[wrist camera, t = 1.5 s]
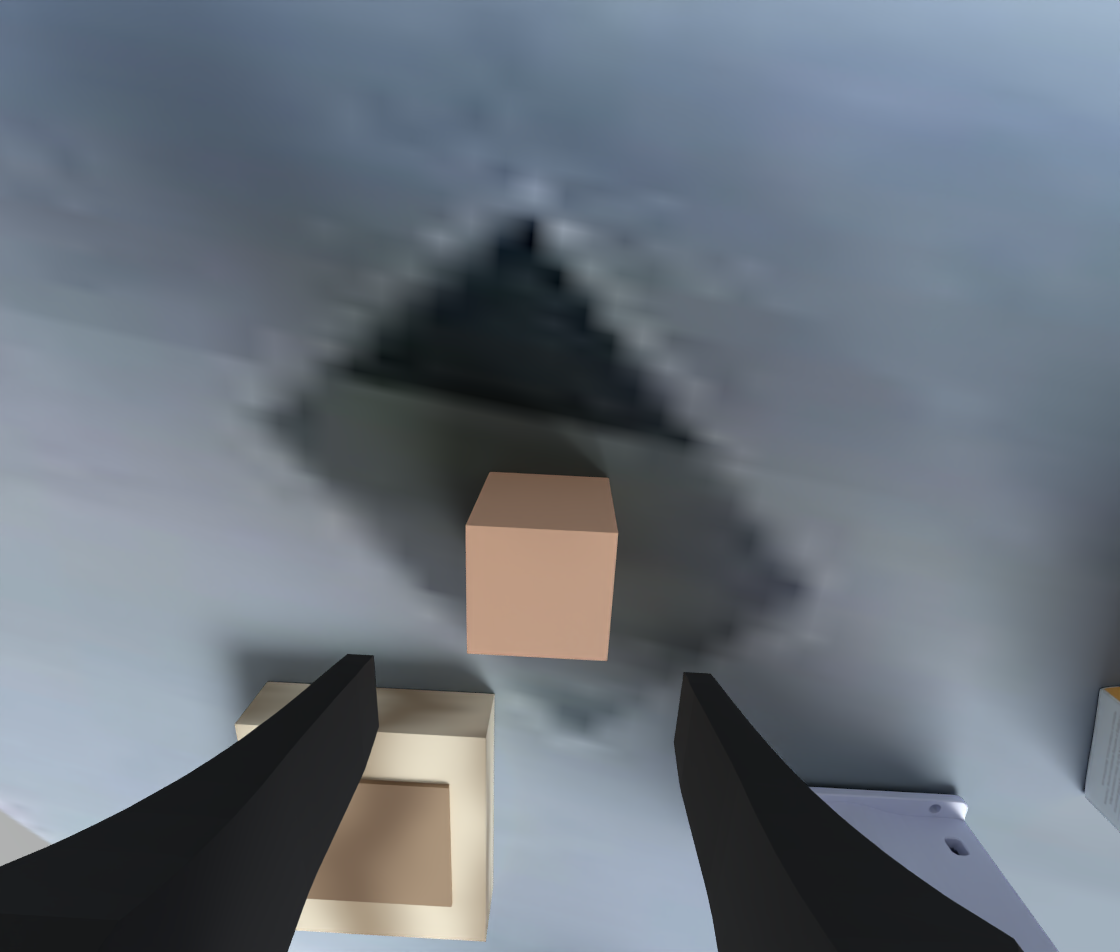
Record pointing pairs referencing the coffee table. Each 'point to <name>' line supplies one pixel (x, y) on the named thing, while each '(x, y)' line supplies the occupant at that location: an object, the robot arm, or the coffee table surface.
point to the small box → (1106, 758)
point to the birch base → (409, 820)
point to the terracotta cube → (541, 567)
